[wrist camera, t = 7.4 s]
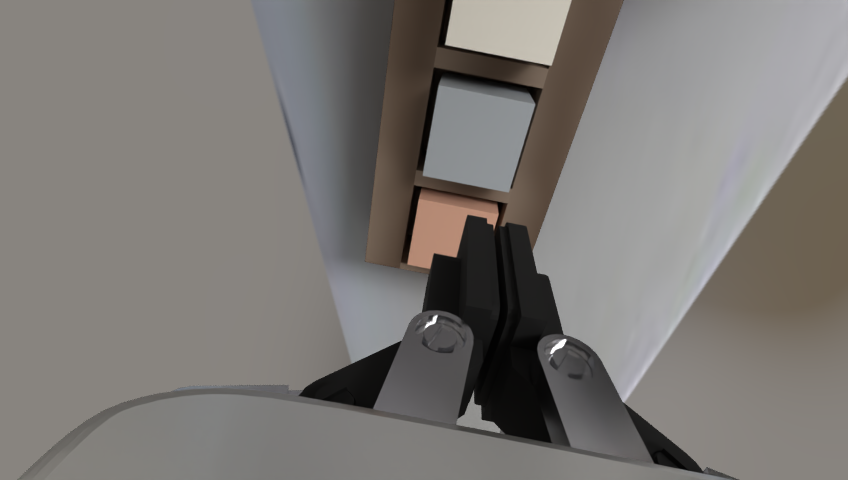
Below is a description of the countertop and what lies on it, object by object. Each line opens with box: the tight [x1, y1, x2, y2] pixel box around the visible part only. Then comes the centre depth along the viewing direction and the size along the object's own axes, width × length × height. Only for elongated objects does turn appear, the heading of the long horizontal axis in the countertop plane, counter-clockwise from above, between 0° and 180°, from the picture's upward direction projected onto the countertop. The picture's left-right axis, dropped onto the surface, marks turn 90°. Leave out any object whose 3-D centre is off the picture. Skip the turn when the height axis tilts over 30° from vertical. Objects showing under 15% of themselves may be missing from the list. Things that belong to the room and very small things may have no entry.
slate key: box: [423, 72, 535, 193], centre depth 24 cm, size 5×5×4 cm
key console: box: [365, 0, 624, 274], centre depth 26 cm, size 11×21×5 cm, turn 170°
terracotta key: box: [407, 187, 499, 269], centre depth 29 cm, size 5×5×4 cm
